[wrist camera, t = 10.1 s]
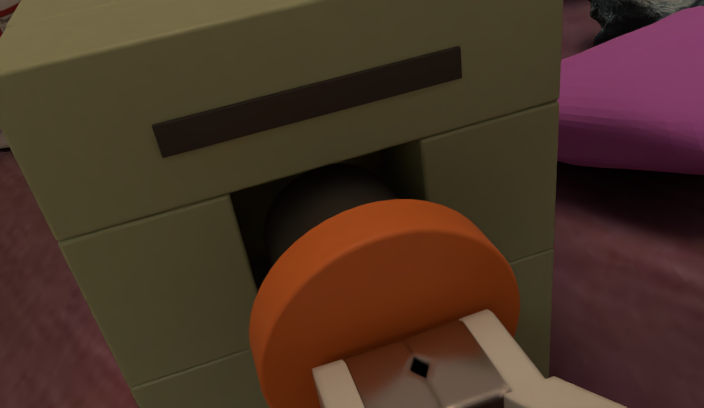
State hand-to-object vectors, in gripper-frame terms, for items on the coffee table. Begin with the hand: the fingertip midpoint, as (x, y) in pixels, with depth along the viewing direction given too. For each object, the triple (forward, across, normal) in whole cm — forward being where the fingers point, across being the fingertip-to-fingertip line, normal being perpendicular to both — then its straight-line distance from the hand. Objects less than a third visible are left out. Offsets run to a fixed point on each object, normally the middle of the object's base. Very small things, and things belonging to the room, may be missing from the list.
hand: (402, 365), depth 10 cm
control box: (+6, 0, +7) cm, 9 cm away
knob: (+2, 0, +2) cm, 3 cm away
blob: (+12, -17, +7) cm, 22 cm away
